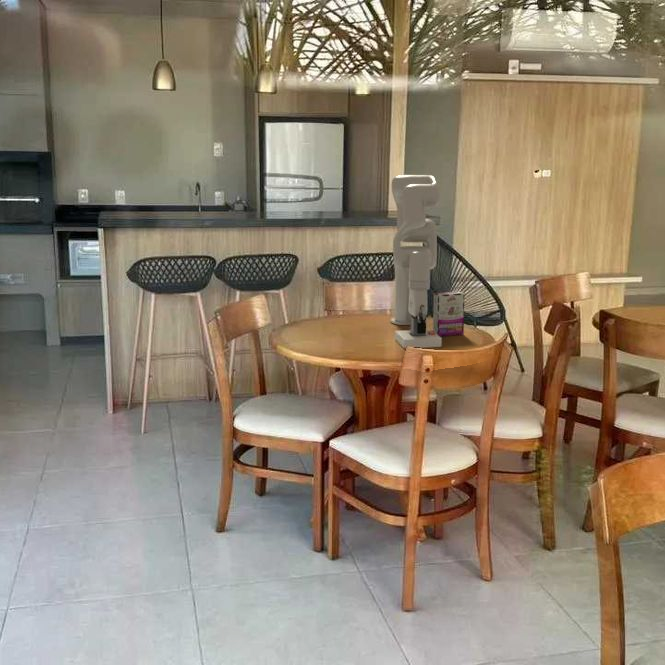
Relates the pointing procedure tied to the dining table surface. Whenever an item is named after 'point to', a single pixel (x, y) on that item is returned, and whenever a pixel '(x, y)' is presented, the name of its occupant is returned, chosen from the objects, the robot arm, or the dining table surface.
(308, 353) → the dining table surface
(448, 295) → the candy bar box
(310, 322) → the dining table surface
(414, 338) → the socket plate
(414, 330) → the plug
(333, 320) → the dining table surface
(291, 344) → the dining table surface
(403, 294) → the robot arm
